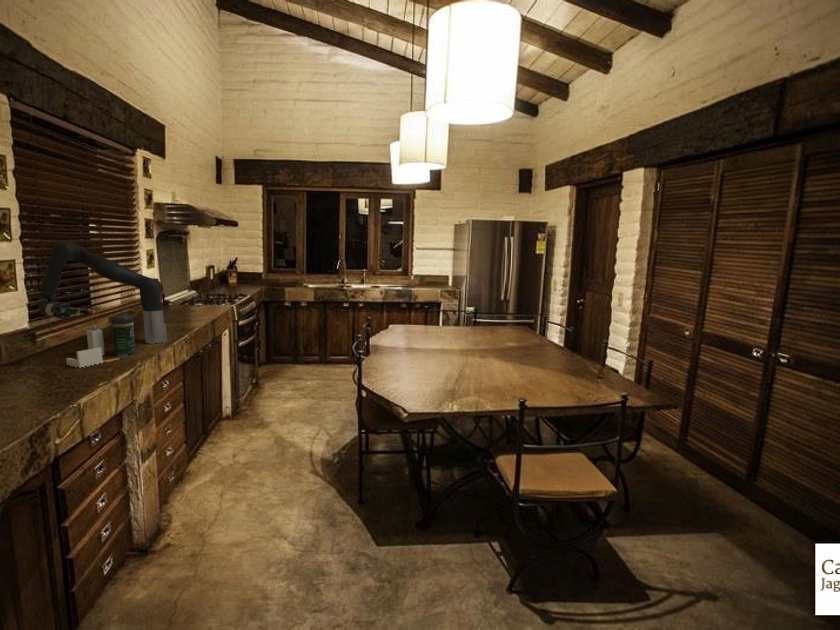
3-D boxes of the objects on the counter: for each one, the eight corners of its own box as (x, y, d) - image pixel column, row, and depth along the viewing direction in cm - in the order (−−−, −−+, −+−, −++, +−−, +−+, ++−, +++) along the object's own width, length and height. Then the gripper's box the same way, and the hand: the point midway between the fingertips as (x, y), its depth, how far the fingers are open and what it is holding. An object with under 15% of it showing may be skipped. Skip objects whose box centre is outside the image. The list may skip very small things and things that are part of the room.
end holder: (90, 360, 215) (88, 345, 214) (102, 363, 211) (101, 347, 210) (67, 365, 207) (65, 349, 206) (79, 368, 203) (78, 352, 201)
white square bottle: (99, 353, 228) (96, 324, 226) (104, 354, 226) (102, 325, 224) (89, 355, 224) (86, 326, 222) (94, 356, 222) (91, 327, 220)
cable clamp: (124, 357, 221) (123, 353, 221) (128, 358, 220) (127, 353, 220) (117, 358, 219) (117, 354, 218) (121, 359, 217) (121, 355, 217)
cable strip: (114, 357, 220) (114, 356, 220) (121, 359, 218) (121, 357, 218) (92, 362, 212) (92, 361, 212) (99, 363, 209) (99, 362, 209)
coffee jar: (130, 356, 224) (127, 317, 221) (112, 356, 223) (108, 317, 220) (138, 351, 233) (135, 313, 230) (121, 351, 232) (117, 314, 229)
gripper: (41, 304, 226) (62, 307, 219) (74, 301, 239) (94, 304, 232) (42, 319, 227) (63, 323, 220) (74, 316, 240) (95, 319, 233)
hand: (79, 314), depth 226 cm, fingers open, 8 cm apart
